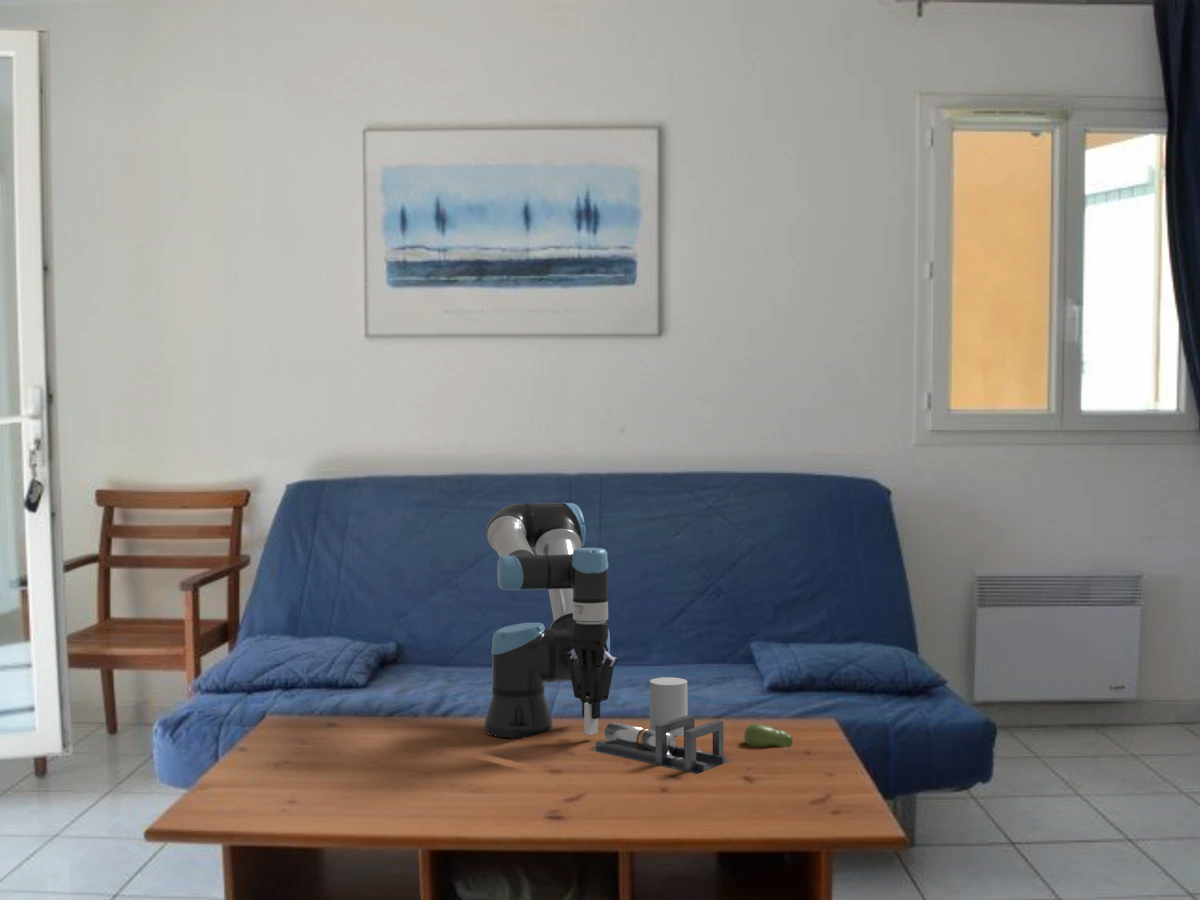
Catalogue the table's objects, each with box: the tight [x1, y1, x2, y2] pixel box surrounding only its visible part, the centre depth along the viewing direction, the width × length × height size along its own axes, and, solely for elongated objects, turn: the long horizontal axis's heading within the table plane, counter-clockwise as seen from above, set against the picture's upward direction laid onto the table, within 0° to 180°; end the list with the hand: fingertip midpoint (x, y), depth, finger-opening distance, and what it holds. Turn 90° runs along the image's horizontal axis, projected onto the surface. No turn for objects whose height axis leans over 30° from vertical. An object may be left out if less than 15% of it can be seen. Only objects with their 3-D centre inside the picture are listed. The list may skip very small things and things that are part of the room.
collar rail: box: [588, 714, 733, 775], centre depth 219 cm, size 27×12×8 cm, turn 50°
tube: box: [604, 721, 677, 755], centre depth 223 cm, size 15×4×4 cm, turn 50°
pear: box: [743, 723, 794, 748], centre depth 227 cm, size 6×5×10 cm
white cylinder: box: [649, 676, 688, 737], centre depth 238 cm, size 8×8×12 cm
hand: (591, 733), depth 231 cm, fingers closed
